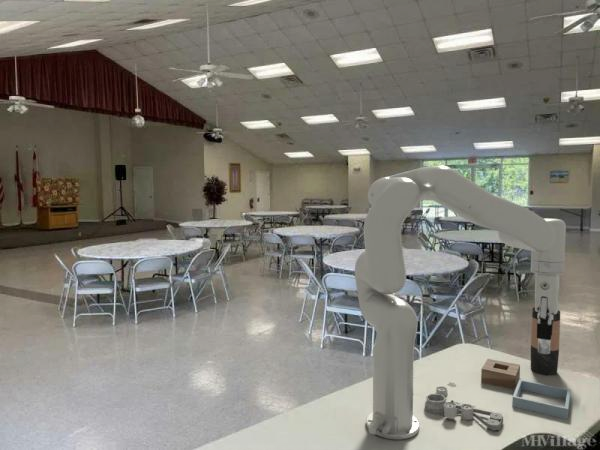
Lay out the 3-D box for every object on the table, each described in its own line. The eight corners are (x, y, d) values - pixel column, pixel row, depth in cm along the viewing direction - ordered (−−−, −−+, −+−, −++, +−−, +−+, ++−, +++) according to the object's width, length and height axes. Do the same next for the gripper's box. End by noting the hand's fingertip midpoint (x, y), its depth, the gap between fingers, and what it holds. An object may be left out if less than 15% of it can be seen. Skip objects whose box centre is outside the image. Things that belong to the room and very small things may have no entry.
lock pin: (551, 355, 117) (552, 317, 117) (535, 352, 119) (536, 315, 118) (552, 351, 120) (553, 313, 120) (536, 348, 122) (538, 311, 121)
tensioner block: (514, 392, 129) (515, 375, 128) (481, 385, 134) (481, 368, 133) (519, 381, 136) (520, 364, 136) (487, 374, 141) (487, 358, 141)
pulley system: (457, 443, 106) (513, 430, 110) (456, 423, 106) (512, 411, 110) (402, 394, 133) (448, 385, 136) (401, 379, 132) (447, 370, 136)
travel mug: (563, 375, 140) (566, 311, 138) (546, 380, 136) (549, 314, 134) (540, 366, 146) (543, 305, 145) (524, 371, 143) (526, 308, 141)
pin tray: (567, 422, 113) (567, 409, 112) (512, 409, 119) (512, 396, 119) (569, 402, 123) (570, 389, 123) (518, 391, 130) (519, 379, 130)
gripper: (562, 274, 109) (558, 349, 111) (565, 263, 123) (563, 330, 124) (526, 271, 113) (524, 343, 115) (534, 260, 127) (532, 326, 128)
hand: (544, 336), depth 120 cm, fingers closed on lock pin, 2 cm apart
